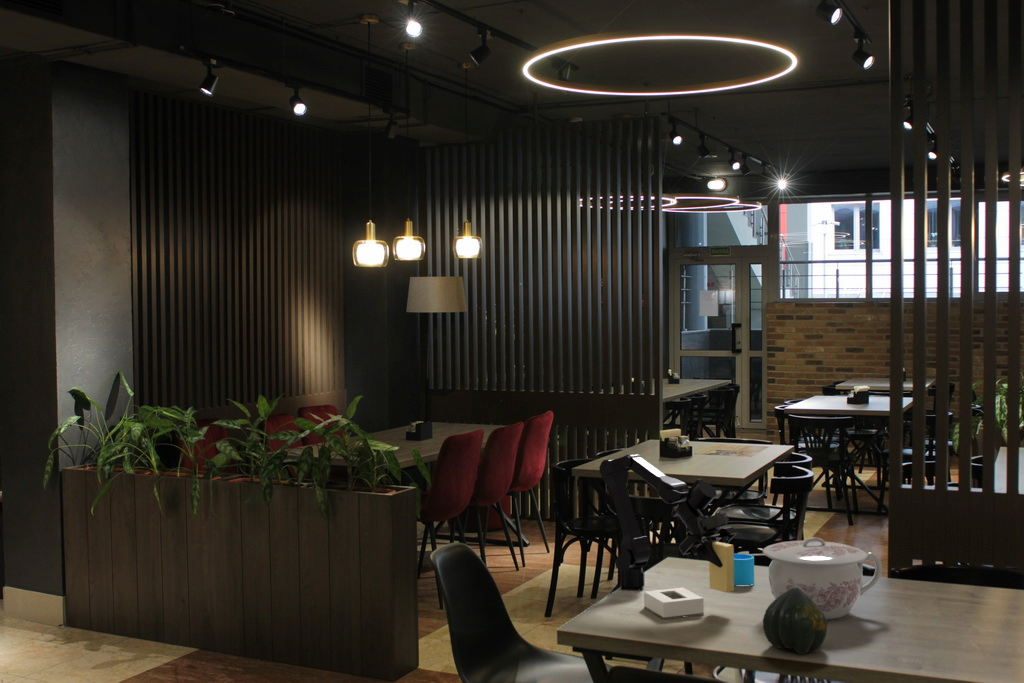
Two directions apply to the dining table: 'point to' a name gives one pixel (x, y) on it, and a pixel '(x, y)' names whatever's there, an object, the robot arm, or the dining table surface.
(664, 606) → the white slotted base
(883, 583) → the dining table surface
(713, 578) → the block
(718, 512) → the robot arm
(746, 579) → the mug
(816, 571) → the chamber pot
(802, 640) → the squash
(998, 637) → the dining table surface
